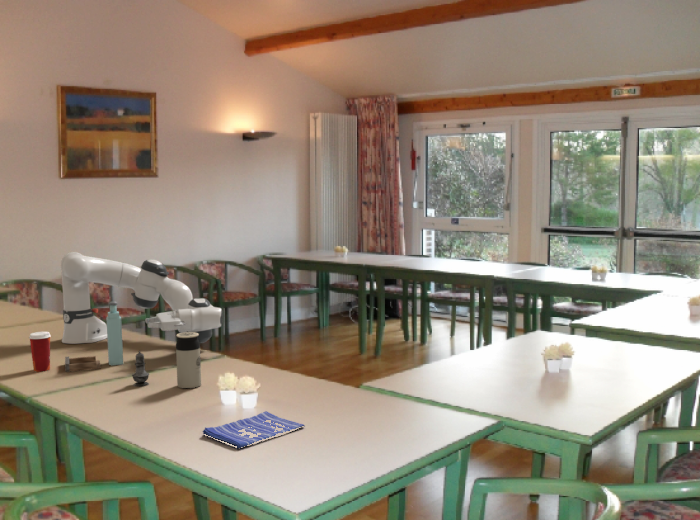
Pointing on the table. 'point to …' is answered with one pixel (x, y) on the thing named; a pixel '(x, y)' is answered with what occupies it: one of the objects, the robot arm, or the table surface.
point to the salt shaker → (140, 372)
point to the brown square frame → (81, 363)
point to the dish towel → (250, 429)
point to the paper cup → (40, 350)
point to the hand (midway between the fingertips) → (146, 323)
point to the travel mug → (188, 360)
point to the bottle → (114, 336)
